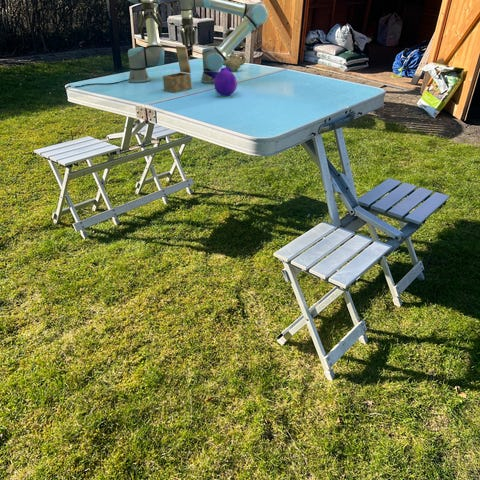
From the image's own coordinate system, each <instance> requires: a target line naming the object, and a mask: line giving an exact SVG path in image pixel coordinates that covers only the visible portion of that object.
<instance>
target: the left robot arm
mask: <svg viewBox="0 0 480 480" xmlns="http://www.w3.org/2000/svg"><path fill="white" fill-rule="evenodd" d="M127 1H128V2H129V3H132V4H138V5H139V4H141V8H142V10H138V17H137V22H136V24H135V27H136V28H137V29H138V30H139V34H140V38H141V40H142V41H143V40H144V41H145V40H146V37H147V44H146V46H145V47H146V48H144V47H143V46H138V47H132V48H130V49H128V50H127V56H128V64H129V65H128V66H129V76H128V79H124V80H120V81H115V82H105V83H103V82H97V83H95V82H94V83H86V84H80V85H81V86H80V85H74V86H75V87H74V88H81V87H86V86H95V85H97V86H98V85H99V86H101V85H103V86H104V85H106V86H108V85H115V84H120V83H124V82H127V81H128V82H129V83H133V84H141V83H148V82H150V76H149V74H148V71H147V67H153V66H156V67H157V66H163V65H165V48H164V47H163V45H162V44H161V41H160V38H162V37H163V36H162V33H163V28H162V27H163V26H164V25H165V23H164V21H163V19H162V17H161V15H160V11H159V9H158V7H159V4H160V3H161V1H160V0H127ZM144 25H145V29H146V37H145V29H144V28H143V27H144ZM71 86H72V85H67V86H66V87H64V90H67V89H68V88H72V87H71ZM70 135H71V140H72V141H74V135H73V130H72V129H71V130H70Z"/></svg>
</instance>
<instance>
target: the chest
mask: <svg viewBox="0 0 480 480" xmlns="http://www.w3.org/2000/svg"><path fill="white" fill-rule="evenodd" d="M162 82H163V91H164V92H168V93H179V92H183V91H188V90H191V89H192V77H191V73H185V72H176V73H171V74H165V75H162Z"/></svg>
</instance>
